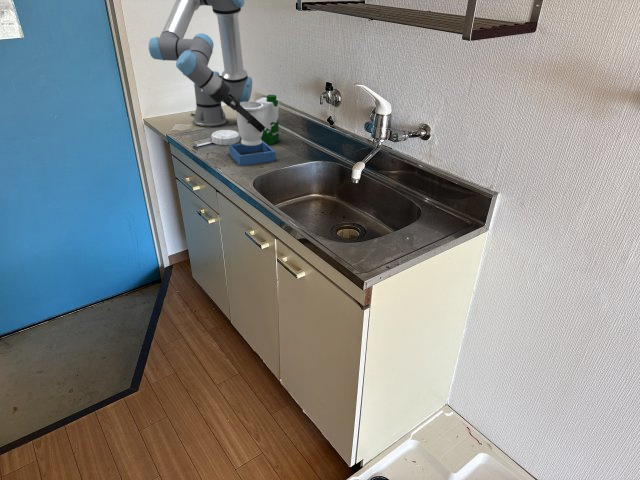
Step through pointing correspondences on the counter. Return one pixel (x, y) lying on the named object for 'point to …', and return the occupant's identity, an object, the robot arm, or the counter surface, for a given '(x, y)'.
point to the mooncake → (225, 137)
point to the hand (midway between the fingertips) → (257, 125)
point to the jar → (248, 130)
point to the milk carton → (270, 119)
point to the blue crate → (254, 158)
